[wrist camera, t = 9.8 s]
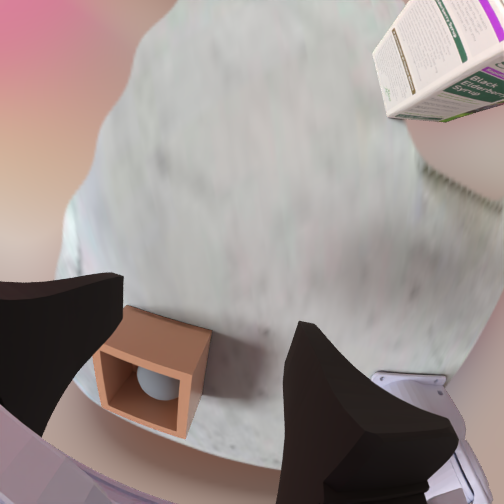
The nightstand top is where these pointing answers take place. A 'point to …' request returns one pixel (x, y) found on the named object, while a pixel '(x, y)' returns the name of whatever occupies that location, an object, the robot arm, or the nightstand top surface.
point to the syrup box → (442, 59)
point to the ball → (158, 384)
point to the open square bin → (153, 369)
